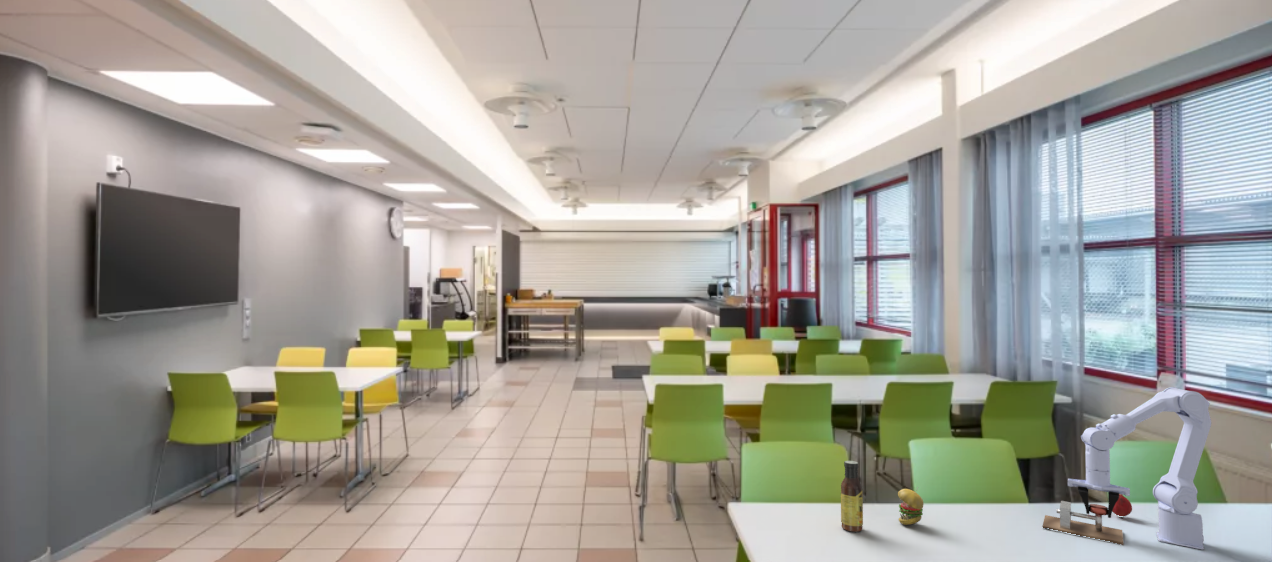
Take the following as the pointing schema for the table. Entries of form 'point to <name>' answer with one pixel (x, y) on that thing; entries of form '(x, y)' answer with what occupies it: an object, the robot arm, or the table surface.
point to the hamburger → (910, 507)
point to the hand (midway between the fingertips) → (1098, 514)
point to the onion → (1122, 506)
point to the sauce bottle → (851, 499)
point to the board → (1085, 530)
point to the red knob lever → (1095, 509)
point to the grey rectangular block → (1065, 515)
